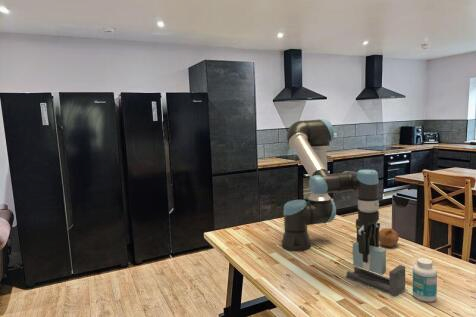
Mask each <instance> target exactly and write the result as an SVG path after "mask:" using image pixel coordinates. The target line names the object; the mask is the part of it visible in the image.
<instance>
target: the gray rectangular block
mask: <svg viewBox="0 0 476 317" xmlns="http://www.w3.org/2000/svg"><path fill="white" fill-rule="evenodd" d="M369 254H370V268H371V270H370V271H369V272H372V273H375V274H378V275H381V276H384V274H386V273H387V249H385V248H383V247H382V248H381V247H375V246H371V245H369ZM352 265H353V266H355V267H358V268H361V269H363V254H361V253H359V247H358V242H357V241H356V242H354V243H352Z"/></svg>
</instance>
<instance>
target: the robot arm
mask: <svg viewBox="0 0 476 317" xmlns="http://www.w3.org/2000/svg"><path fill="white" fill-rule="evenodd" d="M334 138H335V131H334V127H333V125H332V123H331V122H330V121H329V120H327V119H308V120H298V121H295V122H293V123H292V124H291V125H290V126H289V127H288V130H287V132H286V142H287V144H288V146H289V148H290V149H292V150H294V152H295V154H296V155H297V157H298V160H300V162H301V164H302V165H303V167H304V169H305V170H306V172H307V174H308V177H309V180H308V187H309V190H310V195H309V196H308V198H307V201H306V200H304V199H294V200H289V201H287V202H286V203H285V204H284V205H283V221H284V222H283V224H284V226H283V228H284V232H283V236H282V240H281V247H282V248H283V249H284V250H287V251H293V252H302V251H306V250H309V249H310V248H312V240H311V239H310V235H309V233H308V232H309V231H308V226H311V225H319V224H320V225H321V224H326V223H331V222H333V221H334V220H335V217H336V214H337V207H336V203H335V202H334V200H332V197H331V196H330V195H329V194H331V193H333V194H334V193H341V192H350V191H352V192H356V194H357V209H358V210H357V219H359V220H360V221H361V228H360V230H359V229H356V236H357V235H358V247H359V253H361V254H363V268H362V269H364V270H367V271H369V272H371V271H370V270H371V268H370V254H369V245H371V246H375V247H378V248H380V242H379V232H380V228H381V223H380V222H378V221H379V220H380V211H379V208H380V207H379V206H380V203H379V202H380V201H379V197H380V196H379V192H380V191H379V186H380V185H379V183H380V181H379V172H378V171H377V170H376V169H375V170H374V169H359V170H357V172H356V171H353V170H350V171H349V170H346V171H343V172H341V173H340V172H339V173H331V174H330V172H329V171H328V160H327V159H328V157H327V156H328V154H327V153H328V152H327V149H328V148H329V147H330V143H331V142H333V140H334ZM376 221H377V222H376Z"/></svg>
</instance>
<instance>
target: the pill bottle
mask: <svg viewBox="0 0 476 317" xmlns="http://www.w3.org/2000/svg"><path fill="white" fill-rule="evenodd" d="M433 265H434V263H433V260H431V259H429V258H426V257H418V258H417V259H416V264H414V265H413V266H412V295H413V297H415V298H416V299H418V300H419V301H422V302H429V303H430V302H435V301H436V300H437V296H438V271H437V269H436V267H434V266H433Z"/></svg>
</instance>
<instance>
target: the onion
mask: <svg viewBox="0 0 476 317" xmlns="http://www.w3.org/2000/svg"><path fill="white" fill-rule="evenodd" d="M399 238H400V237H399V233H398V232H397V231H396V230H395V229H393V228H391V227H385V228H382V229H379V244H380V245H382V246H384V247H388V248H392V247H394V246H396V245H397V244H398V242H399Z"/></svg>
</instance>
